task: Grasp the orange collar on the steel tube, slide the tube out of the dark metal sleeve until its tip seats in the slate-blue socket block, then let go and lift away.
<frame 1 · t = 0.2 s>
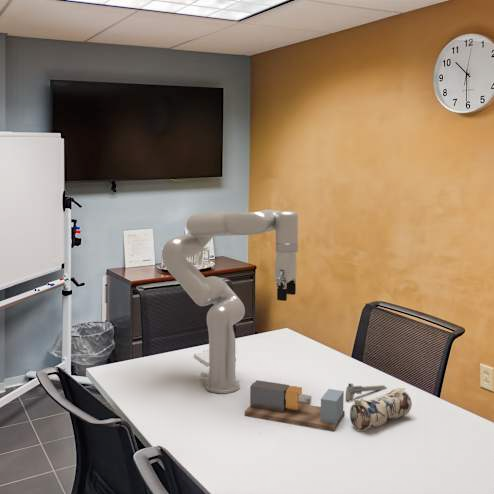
hand: (286, 297, 213), 36 cm above the table, fingers open, 9 cm apart
sleeve: (269, 411, 207), resting on board
pencil case: (380, 422, 199), on the table
socket: (331, 421, 199), resting on board
tube: (283, 396, 205), point 6 cm above the table, slide at 0.0 cm
caliper: (366, 395, 222), on the table
board: (294, 415, 204), on the table
mounting plate: (214, 360, 259), on the table
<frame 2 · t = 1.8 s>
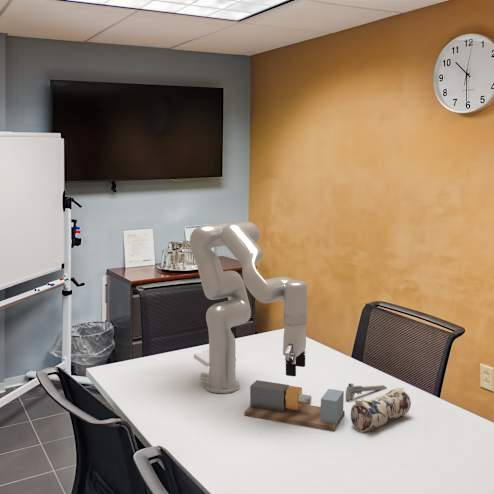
hand: (295, 370, 201), 15 cm above the table, fingers open, 9 cm apart
nothing on the table moved.
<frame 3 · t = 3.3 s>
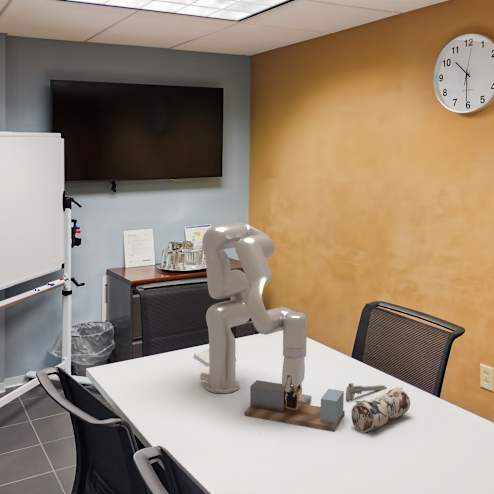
hand: (293, 404, 204), 4 cm above the table, fingers closed on tube, 4 cm apart
tube: (283, 396, 205), point 6 cm above the table, slide at 0.0 cm, touching gripper
everything else where it was.
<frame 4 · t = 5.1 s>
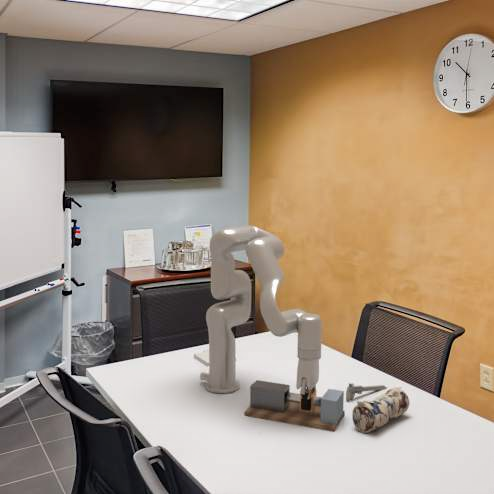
hand: (308, 406, 202), 4 cm above the table, fingers closed on tube, 4 cm apart
tube: (297, 398, 203), point 6 cm above the table, slide at 4.9 cm, touching gripper
everything else where it was.
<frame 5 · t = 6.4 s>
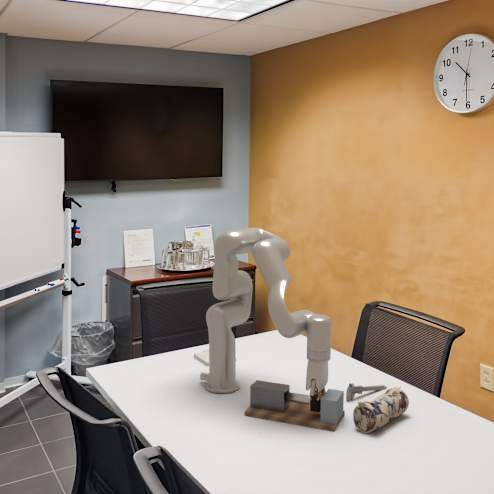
hand: (317, 407, 201), 4 cm above the table, fingers closed on tube, 4 cm apart
tube: (306, 399, 202), point 6 cm above the table, slide at 8.0 cm, touching gripper
everything else where it was.
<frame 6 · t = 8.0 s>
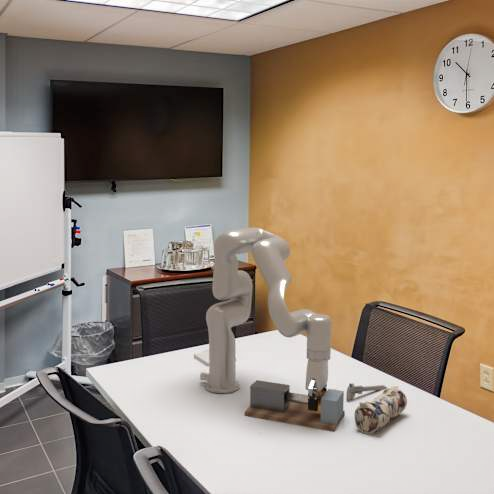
hand: (317, 404, 201), 5 cm above the table, fingers open, 9 cm apart
tube: (306, 399, 202), point 6 cm above the table, slide at 8.0 cm
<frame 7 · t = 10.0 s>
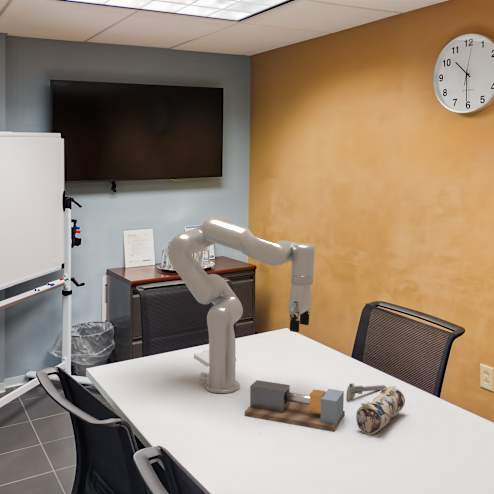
hand: (299, 327, 215), 25 cm above the table, fingers open, 9 cm apart
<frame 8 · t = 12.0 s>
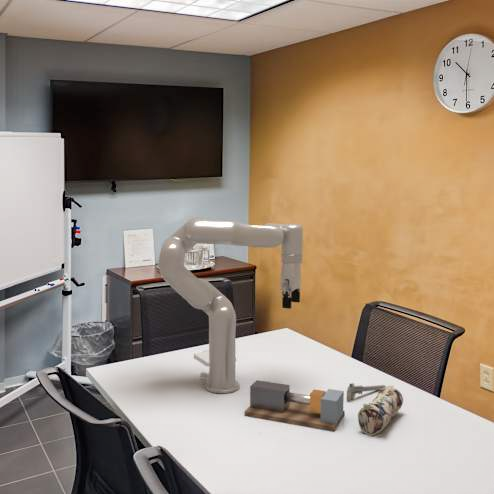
hand: (291, 305, 226), 30 cm above the table, fingers open, 9 cm apart
at the end: tube slide at 8.0 cm; the gripper is holding nothing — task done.
